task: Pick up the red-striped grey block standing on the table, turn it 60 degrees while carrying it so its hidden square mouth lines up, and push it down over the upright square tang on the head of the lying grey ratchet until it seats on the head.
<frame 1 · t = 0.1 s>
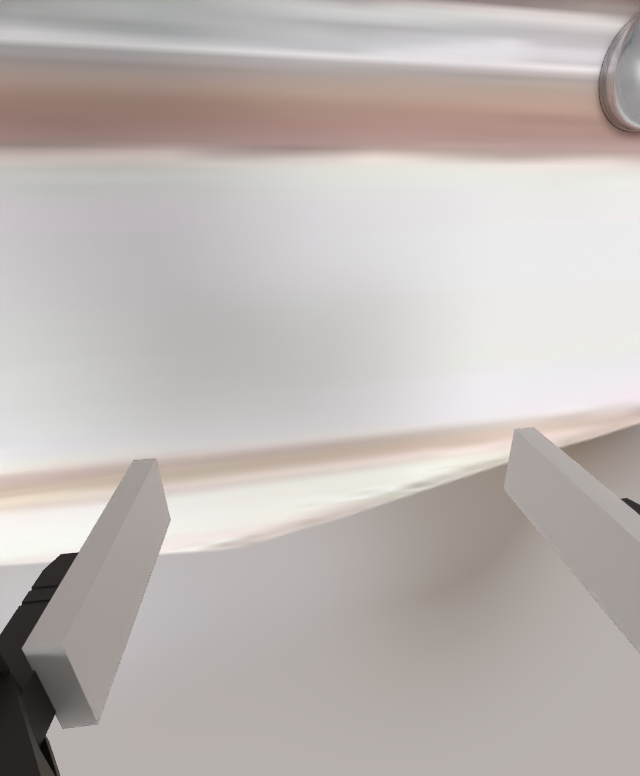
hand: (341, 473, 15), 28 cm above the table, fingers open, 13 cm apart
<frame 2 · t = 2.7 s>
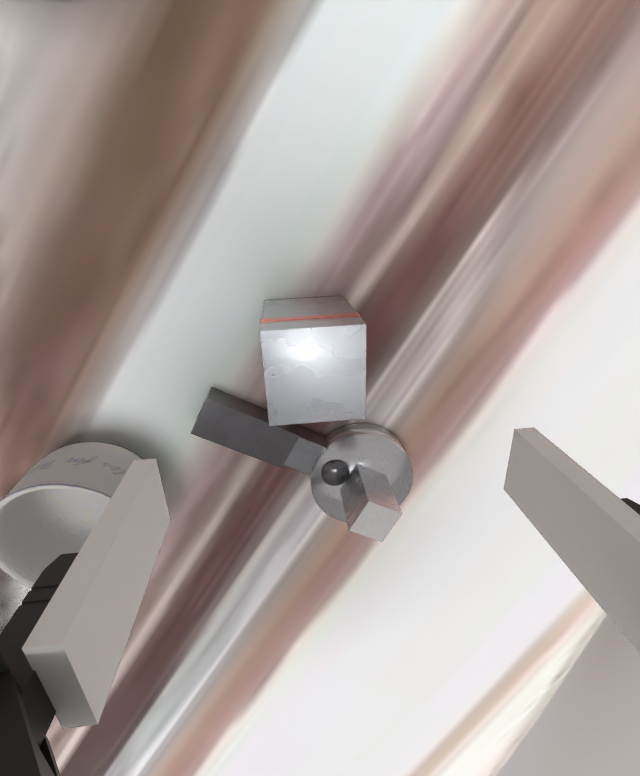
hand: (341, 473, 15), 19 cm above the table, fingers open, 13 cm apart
teacup: (92, 478, 35), on the table
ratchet: (357, 465, 37), on the table
red-striped grey block: (305, 335, 32), on the table
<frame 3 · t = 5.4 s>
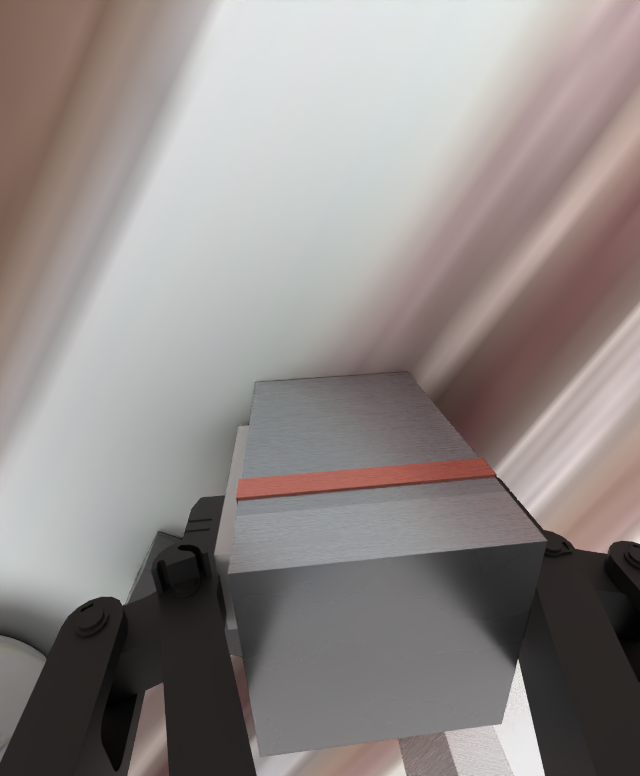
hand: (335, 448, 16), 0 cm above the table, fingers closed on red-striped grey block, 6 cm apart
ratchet: (413, 634, 22), on the table
red-striped grey block: (334, 442, 17), on the table, touching gripper
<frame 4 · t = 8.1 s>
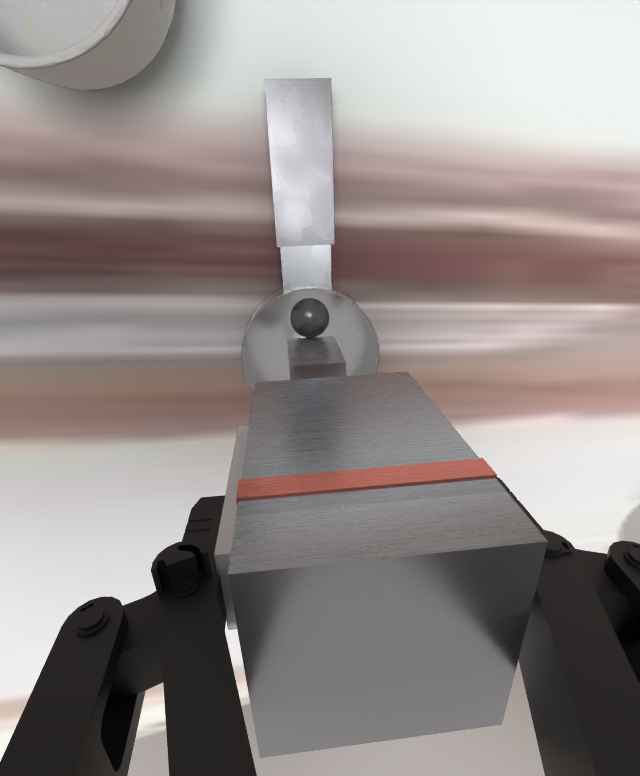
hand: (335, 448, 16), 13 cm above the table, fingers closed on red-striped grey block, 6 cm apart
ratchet: (308, 347, 28), on the table
red-striped grey block: (334, 443, 17), point 13 cm above the table, touching gripper
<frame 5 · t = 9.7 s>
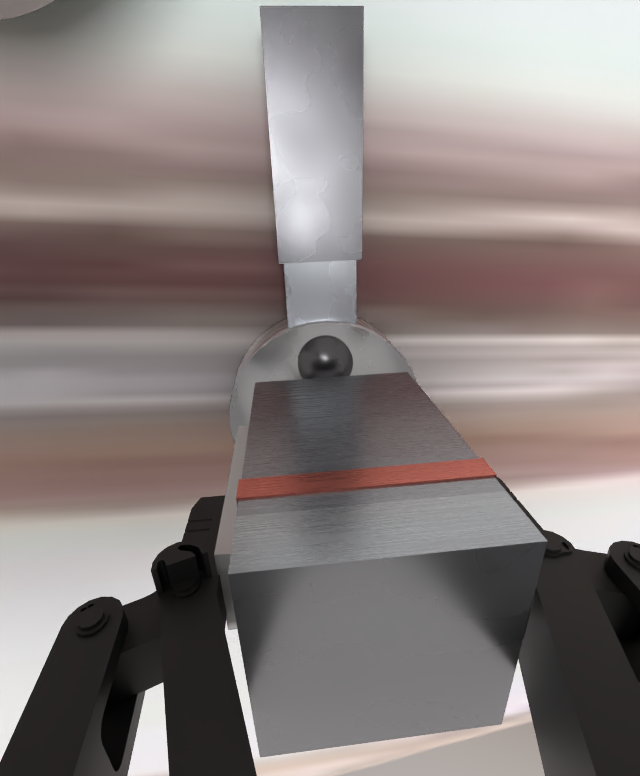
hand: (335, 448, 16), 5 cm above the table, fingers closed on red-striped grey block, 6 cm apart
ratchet: (321, 395, 21), on the table
red-striped grey block: (334, 443, 17), point 5 cm above the table, touching gripper
when the fingers open (3 cm above the table, at t = 11.0 s): red-striped grey block stays where it is, resting on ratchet.
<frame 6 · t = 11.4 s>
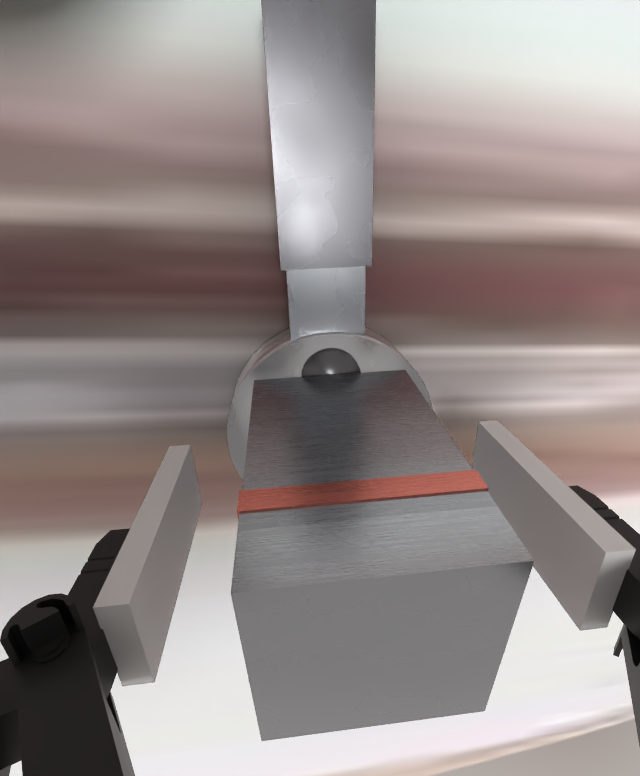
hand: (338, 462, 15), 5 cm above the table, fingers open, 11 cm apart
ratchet: (325, 410, 20), on the table
red-striped grey block: (331, 437, 17), point 3 cm above the table, touching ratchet
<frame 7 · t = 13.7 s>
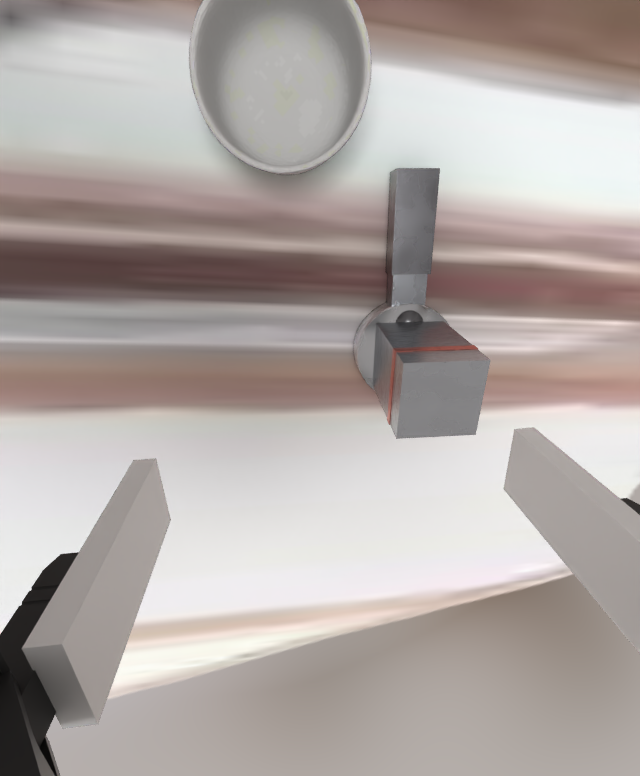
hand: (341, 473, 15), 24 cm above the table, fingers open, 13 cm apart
teacup: (273, 84, 30), on the table
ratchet: (399, 346, 39), on the table
red-striped grey block: (406, 354, 36), point 3 cm above the table, touching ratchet
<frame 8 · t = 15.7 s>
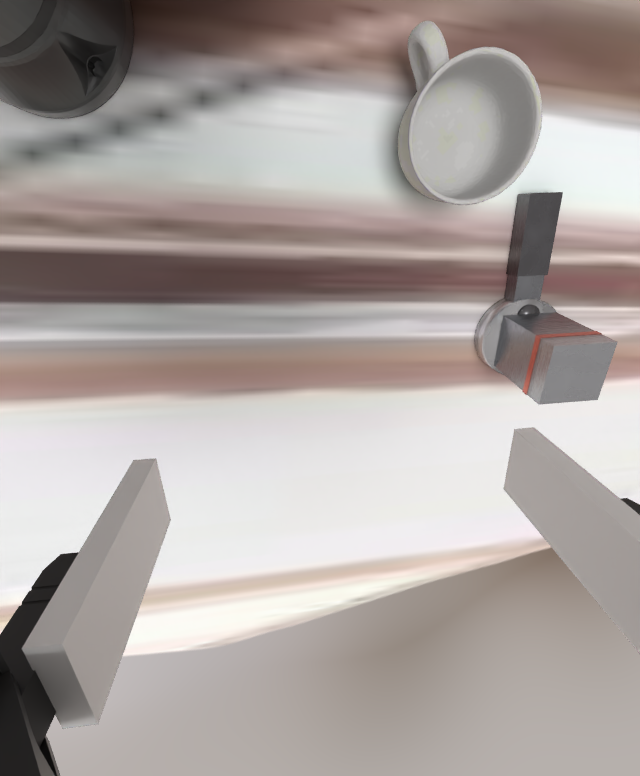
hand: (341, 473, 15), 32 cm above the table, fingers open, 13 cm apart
teacup: (434, 129, 39), on the table
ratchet: (511, 333, 48), on the table
red-striped grey block: (523, 339, 45), point 3 cm above the table, touching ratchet
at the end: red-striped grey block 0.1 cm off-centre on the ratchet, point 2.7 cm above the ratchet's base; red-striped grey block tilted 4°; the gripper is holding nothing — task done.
